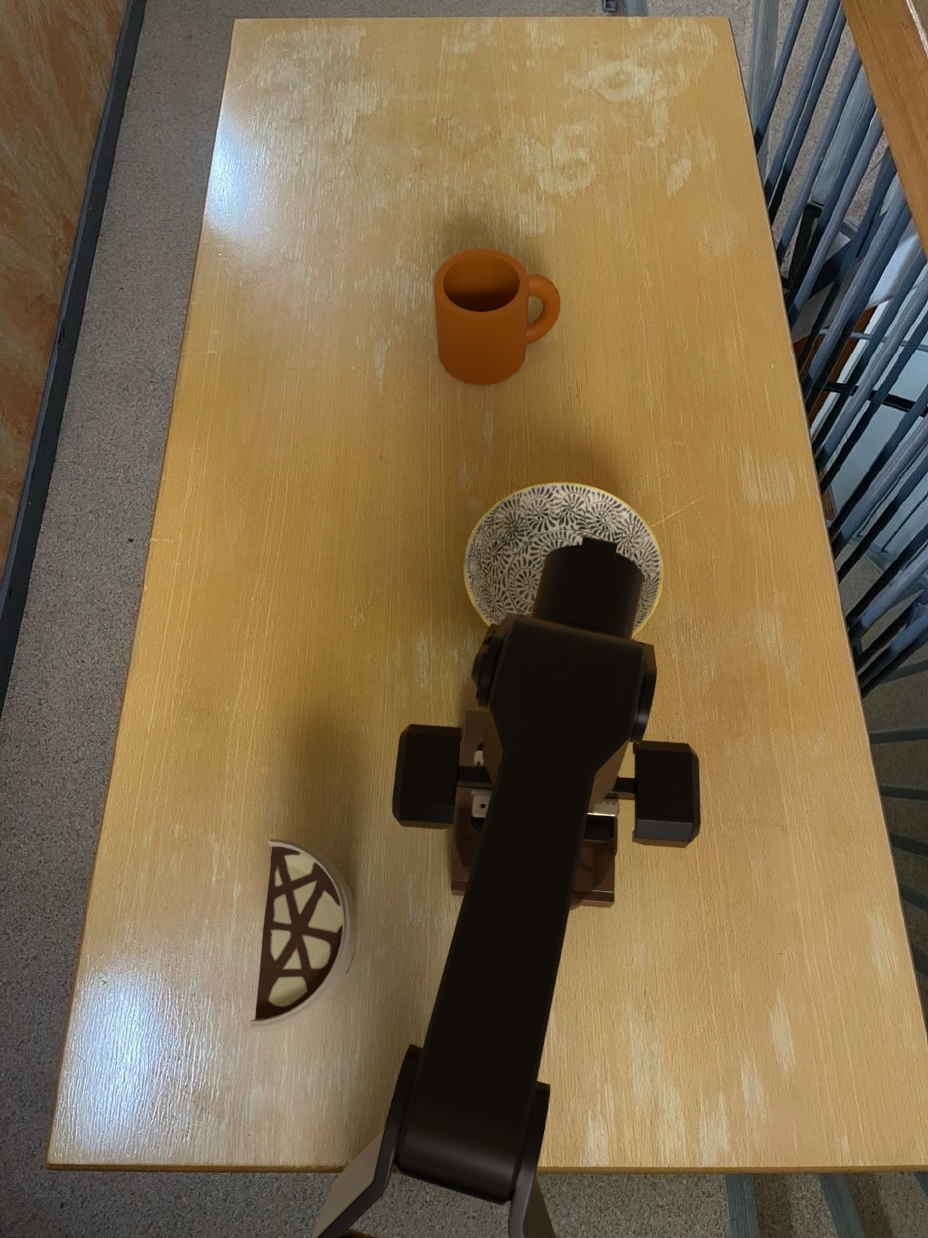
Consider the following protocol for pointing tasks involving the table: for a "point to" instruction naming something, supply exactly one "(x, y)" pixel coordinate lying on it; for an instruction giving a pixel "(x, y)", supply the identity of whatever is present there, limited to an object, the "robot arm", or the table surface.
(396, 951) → the table surface
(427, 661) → the table surface
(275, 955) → the food container
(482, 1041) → the robot arm
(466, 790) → the holder
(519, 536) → the bowl
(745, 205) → the table surface
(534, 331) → the mug
